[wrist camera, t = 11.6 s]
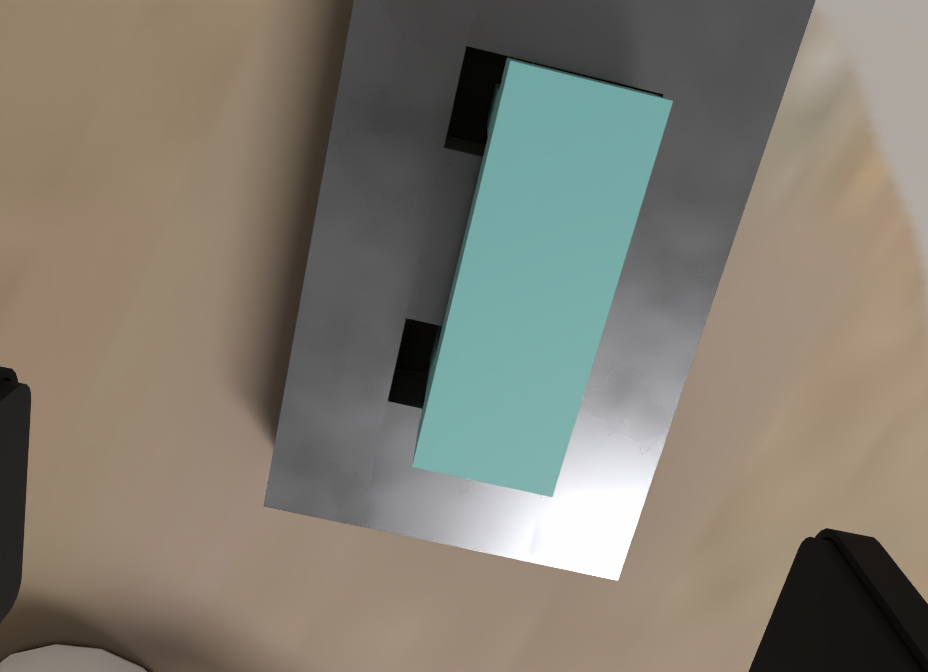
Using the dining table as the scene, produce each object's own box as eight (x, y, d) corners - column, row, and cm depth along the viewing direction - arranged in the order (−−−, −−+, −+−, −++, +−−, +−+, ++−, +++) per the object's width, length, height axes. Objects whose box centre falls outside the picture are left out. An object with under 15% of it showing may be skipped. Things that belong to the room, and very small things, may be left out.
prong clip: (425, 379, 30) (411, 467, 24) (502, 53, 27) (510, 60, 21) (537, 403, 31) (552, 497, 24) (628, 85, 27) (672, 100, 21)
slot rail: (282, 463, 31) (263, 506, 29) (394, -148, 25) (384, -171, 22) (605, 532, 32) (617, 580, 29) (794, -45, 26) (833, -55, 23)
